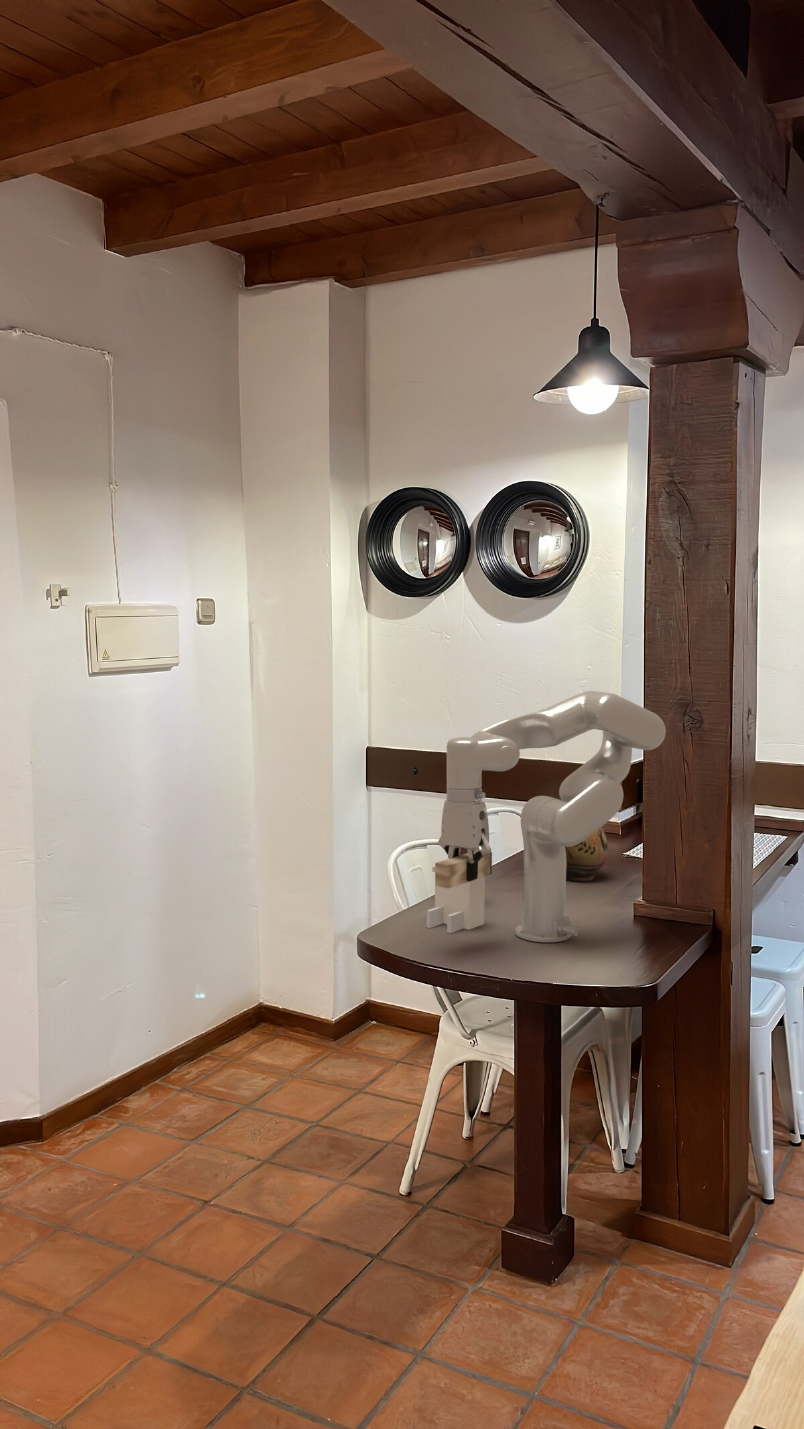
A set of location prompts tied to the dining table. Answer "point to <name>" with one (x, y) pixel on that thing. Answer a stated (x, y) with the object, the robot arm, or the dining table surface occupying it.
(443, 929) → the dining table surface
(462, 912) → the white upright pillar
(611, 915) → the dining table surface
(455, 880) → the wooden block
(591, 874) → the ceramic jug
